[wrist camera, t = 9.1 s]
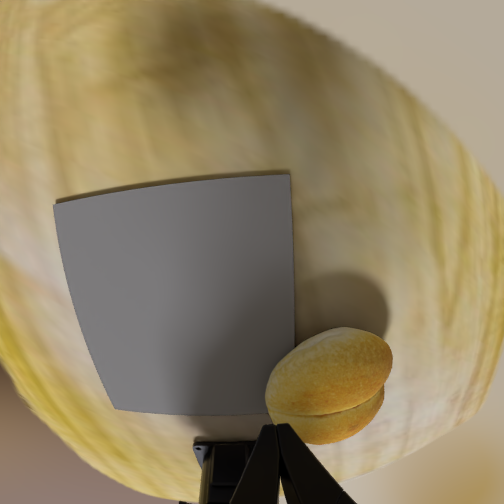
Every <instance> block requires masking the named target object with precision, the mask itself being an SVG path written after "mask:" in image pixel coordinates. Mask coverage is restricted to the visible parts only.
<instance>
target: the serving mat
mask: <svg viewBox="0 0 504 504" xmlns="http://www.w3.org/2000/svg"><path fill="white" fill-rule="evenodd" d="M53 210H54V217H55V224H56V231H57V237H58V242H59V248H60V253H61V258H62V262H63V267H64V271H65V275H66V279H67V283H68V287H69V291H70V295H71V298H72V302H73V305H74V309H75V312H76V315H77V318H78V321H79V324H80V327H81V330H82V333H83V336H84V339H85V342H86V344H87V347H88V350H89V352H90V355H91V357H92V360H93V362H94V365H95V367H96V370H97V372H98V374H99V377H100V379H101V381H102V383H103V386H104V388H105V390H106V392H107V394H108V396H109V398H110V400H111V402H112V404H113V406H114V408H115V409H118V410H125V411H133V412H143V413H154V414H168V415H194V416H220V415H246V414H261V413H269V412H268V408H267V405H266V401H265V392H266V388H267V387H266V386H267V383H268V381H269V378H270V375H271V373H272V371H273V369H274V368H275V367H276V365H277V364H278V363H279V362H280V361H281V360H282V359H283V358H284V357H285V356H286V355H287V354H288V353H290V352H291V351H292V350H293V349H294V338H295V325H294V260H293V231H292V208H291V189H290V174H284V175H265V176H249V177H235V178H223V179H213V180H203V181H193V182H184V183H176V184H168V185H160V186H153V187H146V188H139V189H133V190H127V191H120V192H114V193H109V194H103V195H98V196H92V197H87V198H82V199H77V200H72V201H68V202H63V203H58V204H54V205H53Z"/></svg>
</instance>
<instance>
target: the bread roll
mask: <svg viewBox="0 0 504 504" xmlns="http://www.w3.org/2000/svg"><path fill="white" fill-rule="evenodd" d="M392 360H393V357H392V352H391V349H390V347H389V345H388V344H387V343H386V342H385V341H384V340H383V339H381V338H380V337H378V336H377V335H375V334H373V333H370V332H368V331H363V330H360V329H355V328H349V327H339V328H334V329H330V330H327V331H324V332H322V333H320V334H317V335H315V336H313V337H311V338H309V339H307V340H305V341H304V342H302V343H301V344H299V345H298V346H297V347H296V348H295V349H293V350H292V351H291V352H290V353H288V354H287V355H286V356H285V357H284V358H283V359H282V360H281V361H280V362H279V363H278V364H277V365H276V367H275V368H274V369H273V371H272V373H271V375H270V378H269V381H268V383H267V386H266V387H267V388H266V392H265V401H266V405H267V408H268V412H269V415H270V417H271V420H272V422H273V423H274V424H275V425H277V424H280V423H289V424H290V425H291V427H292V428H293V429H294V430H295V432H296V433H297V434H298V436H299V437H300V438H301V439H302V441H303V442H304V443H309V444H314V445H322V444H329V443H334V442H338V441H341V440H344V439H346V438H349V437H351V436H353V435H355V434H356V433H358V432H359V431H360V430H362V429H363V428H364V427H365V426H366V425H368V424H369V423H370V421H371V420H372V419H373V418H374V417H375V415H376V414H377V412H378V411H379V409H380V407H381V405H382V403H383V400H384V383H385V382H386V380H387V378H388V376H389V374H390V372H391V369H392Z"/></svg>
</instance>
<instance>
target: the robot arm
mask: <svg viewBox="0 0 504 504" xmlns="http://www.w3.org/2000/svg"><path fill="white" fill-rule="evenodd" d="M193 451H194V453H195V455H196V458H197V460H198V462H199V465H200V467H201V469H202V475H201V485H200V495H199V504H279V492H280V478H281V483H282V487H283V491H284V494H285V498H286V501H287V504H357V503H356V502H355V501H354V500H353V499H352V498H351V497H350V496H349V495H348V494H347V493H346V492H345V491H343V489H342V487H341V486H340V485H339V484H338V483H337V482H336V480H335V479H334V478H333V477H332V476H331V475H330V474H329V472H328V471H327V470H326V469H325V468H324V466H323V465H322V464H321V463H320V462H319V460H318V459H317V458H316V457H315V456H314V454H313V453H312V452H311V451H310V449H309V448H308V447H307V446H306V444H305V443H304V442H303V441H302V439H301V438H300V437H299V436H298V434H297V433H296V432H295V430H294V429H293V428H292V427H291V425H290V424H289V423H280V424H277V425H274V424H270V425H264V426H263V427H262V429H261V432H260V434H259V437H258V439H257V441H250V442H195V443H194V444H193ZM179 504H190V503H187V502H183V501H179Z"/></svg>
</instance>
